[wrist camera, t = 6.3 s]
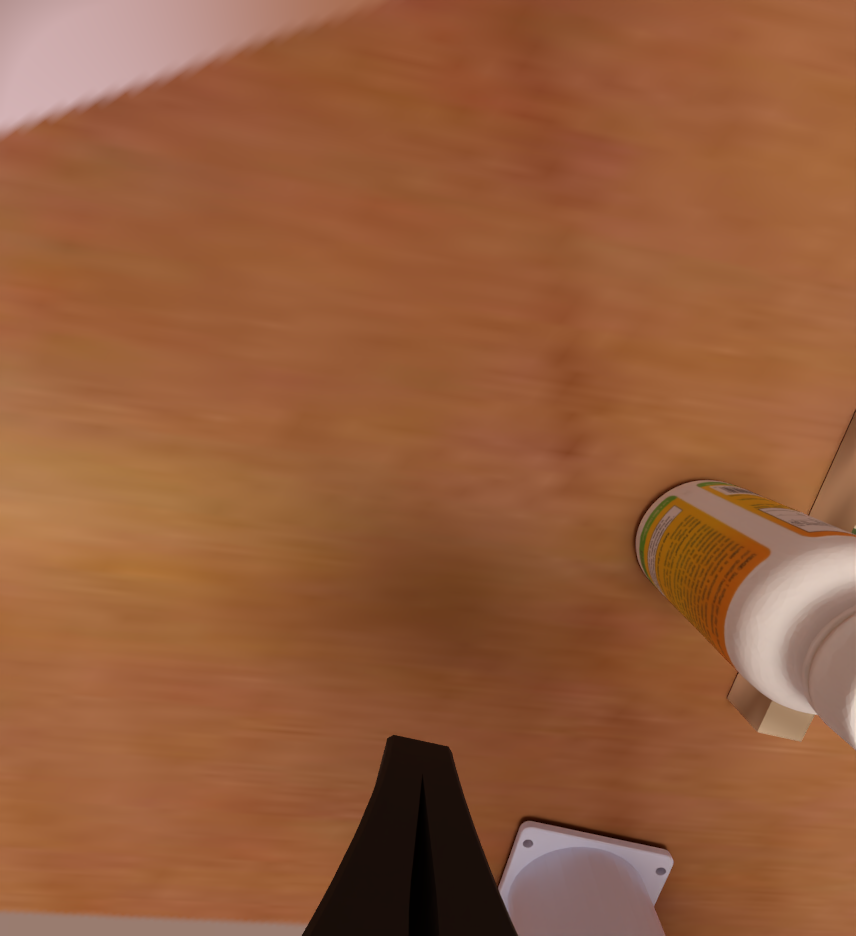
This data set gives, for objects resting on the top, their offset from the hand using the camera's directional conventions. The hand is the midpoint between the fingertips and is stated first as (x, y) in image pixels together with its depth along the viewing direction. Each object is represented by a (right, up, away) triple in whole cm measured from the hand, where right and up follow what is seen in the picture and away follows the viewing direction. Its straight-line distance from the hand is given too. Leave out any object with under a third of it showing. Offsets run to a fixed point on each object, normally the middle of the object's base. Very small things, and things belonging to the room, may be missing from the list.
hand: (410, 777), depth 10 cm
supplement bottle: (+12, +4, +10) cm, 16 cm away
